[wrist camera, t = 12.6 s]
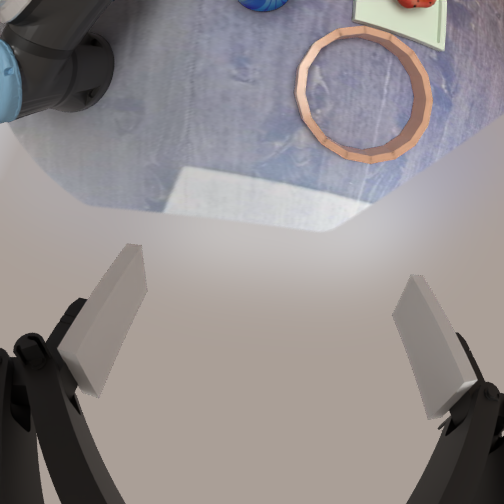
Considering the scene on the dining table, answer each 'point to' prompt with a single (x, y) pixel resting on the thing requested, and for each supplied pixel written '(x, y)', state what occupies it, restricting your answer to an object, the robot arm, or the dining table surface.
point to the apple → (417, 3)
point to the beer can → (262, 4)
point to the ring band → (419, 86)
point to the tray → (405, 20)
